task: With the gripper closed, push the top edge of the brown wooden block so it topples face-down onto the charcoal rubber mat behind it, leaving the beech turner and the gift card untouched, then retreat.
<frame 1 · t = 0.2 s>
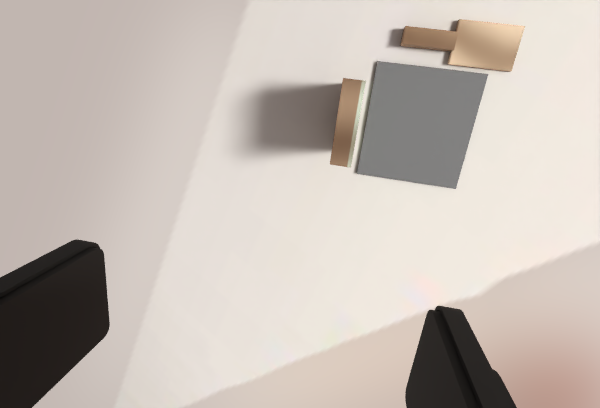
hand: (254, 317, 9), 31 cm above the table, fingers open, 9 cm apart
turner: (462, 44, 33), on the table
brown wooden block: (348, 117, 37), on the table
mat: (417, 127, 36), on the table
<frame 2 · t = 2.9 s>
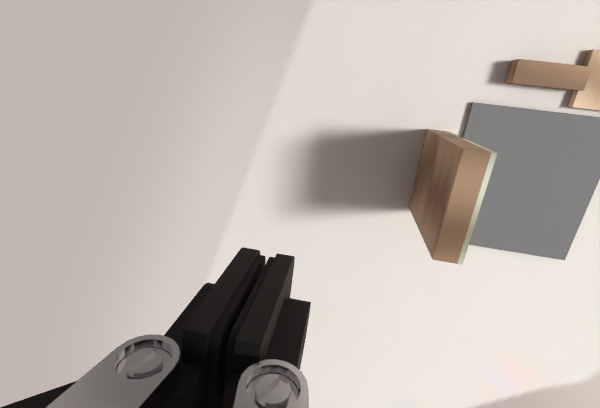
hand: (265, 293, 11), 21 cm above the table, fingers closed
turner: (591, 80, 25), on the table
brown wooden block: (428, 171, 29), on the table
mat: (519, 184, 28), on the table
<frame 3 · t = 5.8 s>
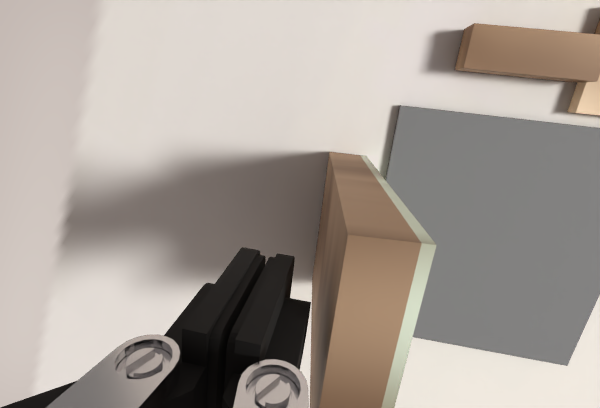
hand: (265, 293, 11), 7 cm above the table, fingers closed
brown wooden block: (337, 220, 17), on the table, tilted 6°
mat: (488, 243, 17), on the table
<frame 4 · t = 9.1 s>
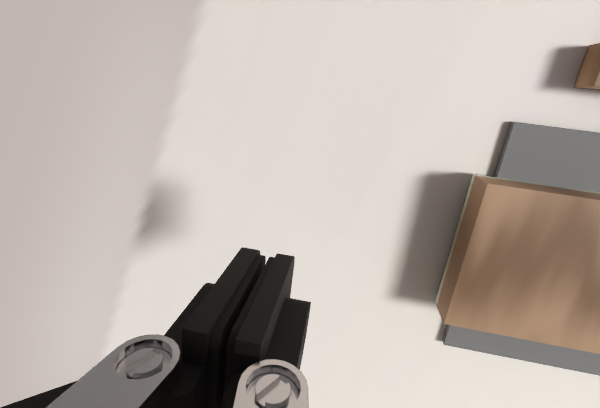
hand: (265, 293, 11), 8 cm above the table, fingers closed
brown wooden block: (458, 250, 16), point 1 cm above the table, tilted 90°, touching mat
mat: (590, 263, 16), on the table
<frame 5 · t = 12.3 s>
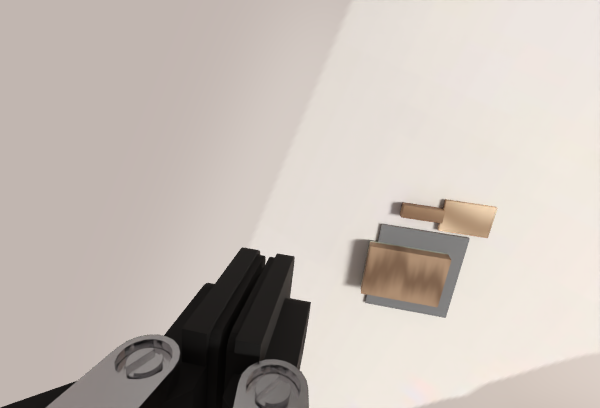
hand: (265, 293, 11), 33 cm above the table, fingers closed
turner: (449, 215, 42), on the table
brown wooden block: (365, 267, 45), point 1 cm above the table, tilted 90°, touching mat
mat: (414, 271, 45), on the table
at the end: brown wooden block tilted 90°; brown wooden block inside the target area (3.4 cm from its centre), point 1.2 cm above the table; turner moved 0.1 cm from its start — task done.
